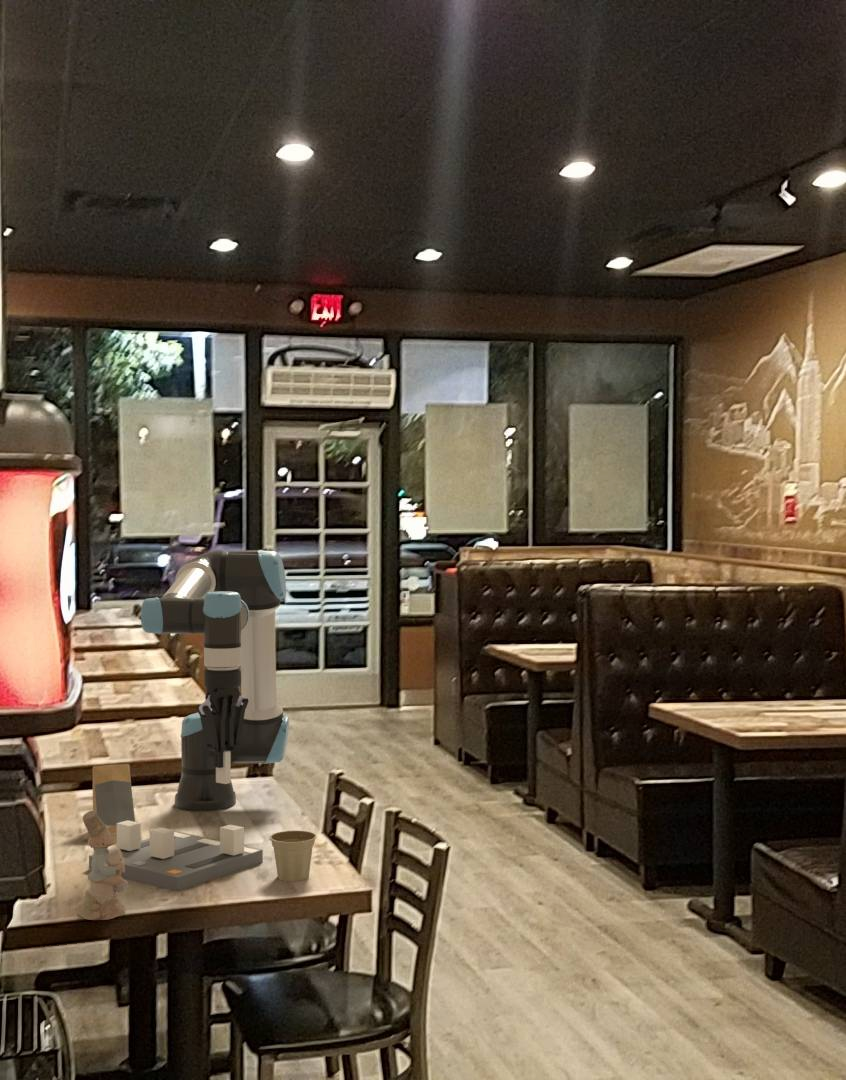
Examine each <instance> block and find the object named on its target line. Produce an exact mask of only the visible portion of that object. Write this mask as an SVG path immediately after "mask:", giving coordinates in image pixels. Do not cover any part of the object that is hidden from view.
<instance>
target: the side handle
mask: <svg viewBox="0 0 846 1080" xmlns="http://www.w3.org/2000/svg"><path fill="white" fill-rule="evenodd" d="M141 827H142V825H141V822H137V821H135V822H133V821H128V820H127V821H123V822H120V823H117V844H116V848H120V849H123V850H127V851H132V850H135V849H139V848H141V841H142V839H141V838H142V829H141Z"/></svg>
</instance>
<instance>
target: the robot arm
mask: <svg viewBox="0 0 846 1080" xmlns="http://www.w3.org/2000/svg"><path fill="white" fill-rule="evenodd" d="M285 572H286V571H285V568H284V562H283V558H282V557H281V555H280V553H278V552H277V551H274V550H263V549H252V550H251V549H246V550H245V549H243V550H224V549H223V550H222V549H221V550H218V549H217V550H213V551H209V552H204V553H202V554H199V555H198V556H195V557H193V558H191V559H189V560H187V562H185V563H184V564H183V565H182V566H180V568H179V569H178V571H177V572H176V574H175V579H174V582H173V583H172V585H170V587H169V589H167V591H165V593H164V594H163V595H162V597H158V596H156V597H151V598H145V599H144V600H143V602H142V604H141V609H140V623H141V627H142V631H144V632H145V633H147V634H157V635H164V634H167V635H169V634H171V635H172V634H173V635H174V634H179V635H180V634H202V635H203V640H204V641H203V666H205V667H206V668H205V669H203V670H204V671H203V684H204V687H205V688H206V694H205V697H204V698H205V700H204V701H203V702H202V704H197V705H196V707H195V709H196V711H197V712H195V713H191V714H189V715H187V716H185V717H184V718H183V720H182V721H181V730H180V731H181V733H180V745H181V750H180V751H181V752H180V753H181V774H180V776H181V777H180V779H179V783H178V786H177V792H176V793H175V795H174V807H175V808H176V809H178V810H180V811H181V810H182V811H185V812H186V811H187V812H199V813H200V812H213V811H222V810H226V809H229V808H232V807H234V806H235V805H236V804H237V795H236V792H235V790H234V787H233V783H232V778H231V774H232V773H231V770H232V769H231V766H232V765H233V764H264V765H266V764H276V763H281V762H282V761H283V760H284V758H285V755H286V751H287V745H288V737H289V730H290V717H289V716H288V715H284V709H283V707H282V706H281V705H280V704H278V702H277V668H276V667H277V666H276V665H277V664H276V633H275V632H276V631H275V611H276V610H277V609H278V608H279V607H280V606H281V600H283V599H285V598H286V596H287V582H286V581H287V580H286V573H285ZM239 687H241V688H239ZM240 690H241V691H240Z"/></svg>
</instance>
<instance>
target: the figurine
mask: <svg viewBox="0 0 846 1080" xmlns="http://www.w3.org/2000/svg"><path fill="white" fill-rule="evenodd" d="M82 822H83V823H84V827H85V829H86V830H87V832H88V834H89V835H88V836H89V838H88V840H87V844H88V846H89V847H90V849H93V853H92V855H93V858H92V863H91V866H92V870H91V871H90V872H89V873H88V874H87V880H88V881H89V884H90V886H89V889H86V890H85V897H84V903H83V904H82V906H80V909H79V910H78V911H77V915H78V916H79V917H80V918H83V919H85V920H87V921H88V920H91V921H105V920H111V919H115V918H117V917H122V916H123V915H125V914H126V909H125V906H124V904H123V903H122V902H121V901H120V900H119V899H118V895H117V892H118V893H121V892H124V889H125V887H127V886H128V885H129V882H128V881H127V879H124V878H122V877H121V873H123V872H125V865H124V861H125V859H124V858H123V856H122V852H121V850H120V848H118V849H116V850H113V851H110V852H109V851H108V850H109V847H111V846H114V845H117V844H116V843H117V842H116V837H115V833H110V829H111V828H110V827H109V826H107V825H105V824H104V823H103V822H102V820H101V819H100V817H99V816H98V814H97V813H96V812H95V811H93V810H89V811H87V812H86V813H84V814H83V817H82Z"/></svg>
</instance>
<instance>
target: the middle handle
mask: <svg viewBox="0 0 846 1080" xmlns="http://www.w3.org/2000/svg"><path fill="white" fill-rule="evenodd" d="M174 831H175V830H174V829H171V828H164V827H157V828H154V829H150V830H149V838H150V856H153V857H157V858H161V859H165V858H168V857H171V856H174Z"/></svg>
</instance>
